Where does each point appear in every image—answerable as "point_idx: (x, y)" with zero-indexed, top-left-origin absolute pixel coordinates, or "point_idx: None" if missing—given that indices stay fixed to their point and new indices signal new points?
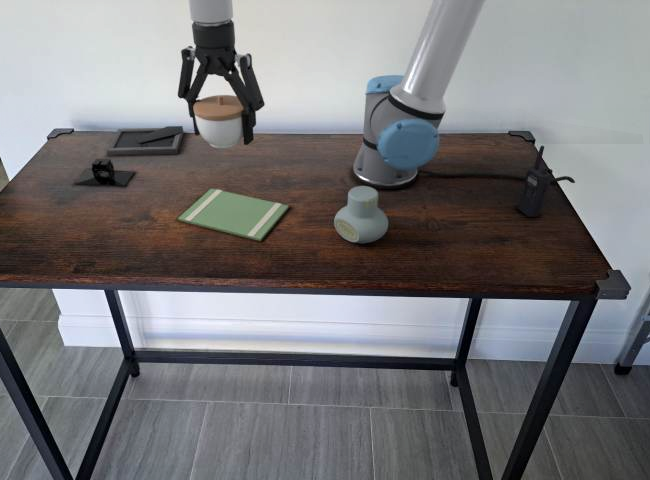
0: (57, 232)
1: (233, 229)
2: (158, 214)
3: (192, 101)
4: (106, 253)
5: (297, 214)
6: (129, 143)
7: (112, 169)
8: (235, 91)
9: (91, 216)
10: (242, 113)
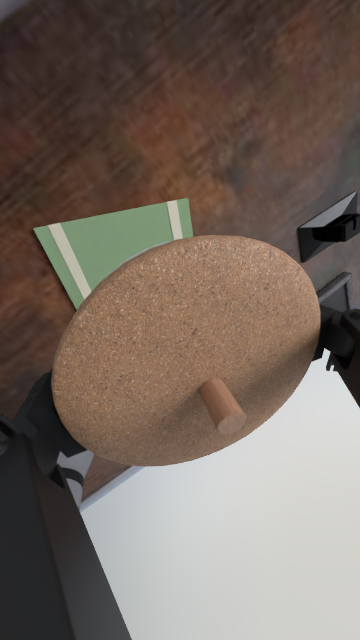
0: (330, 30)
1: (92, 224)
2: (221, 195)
3: (337, 326)
4: (221, 3)
5: (62, 320)
6: (333, 301)
7: (330, 237)
8: (39, 616)
9: (303, 123)
10: (46, 407)
